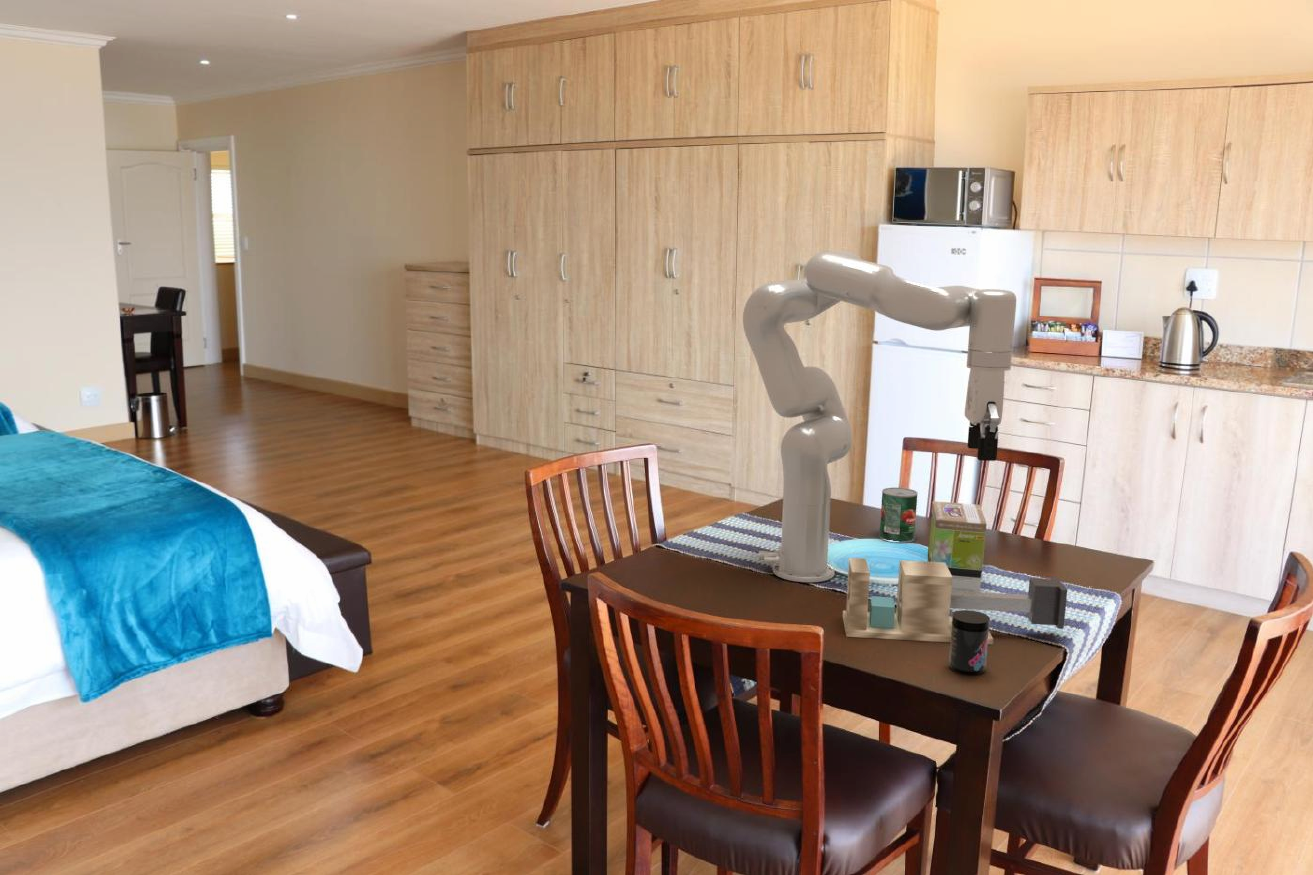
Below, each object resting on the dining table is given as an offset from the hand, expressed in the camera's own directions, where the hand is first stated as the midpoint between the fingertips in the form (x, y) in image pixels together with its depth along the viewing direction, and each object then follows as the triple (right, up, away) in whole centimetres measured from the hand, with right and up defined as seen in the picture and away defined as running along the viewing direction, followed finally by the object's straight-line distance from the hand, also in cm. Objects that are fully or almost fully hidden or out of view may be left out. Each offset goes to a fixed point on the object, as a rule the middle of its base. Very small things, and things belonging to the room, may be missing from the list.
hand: (981, 454), depth 194 cm
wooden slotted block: (-12, -31, -2) cm, 34 cm away
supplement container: (-8, -35, -18) cm, 40 cm away
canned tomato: (-4, -20, +52) cm, 56 cm away
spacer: (-16, -28, -3) cm, 33 cm away
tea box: (+1, -26, +24) cm, 36 cm away
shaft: (-1, -29, -4) cm, 29 cm away
